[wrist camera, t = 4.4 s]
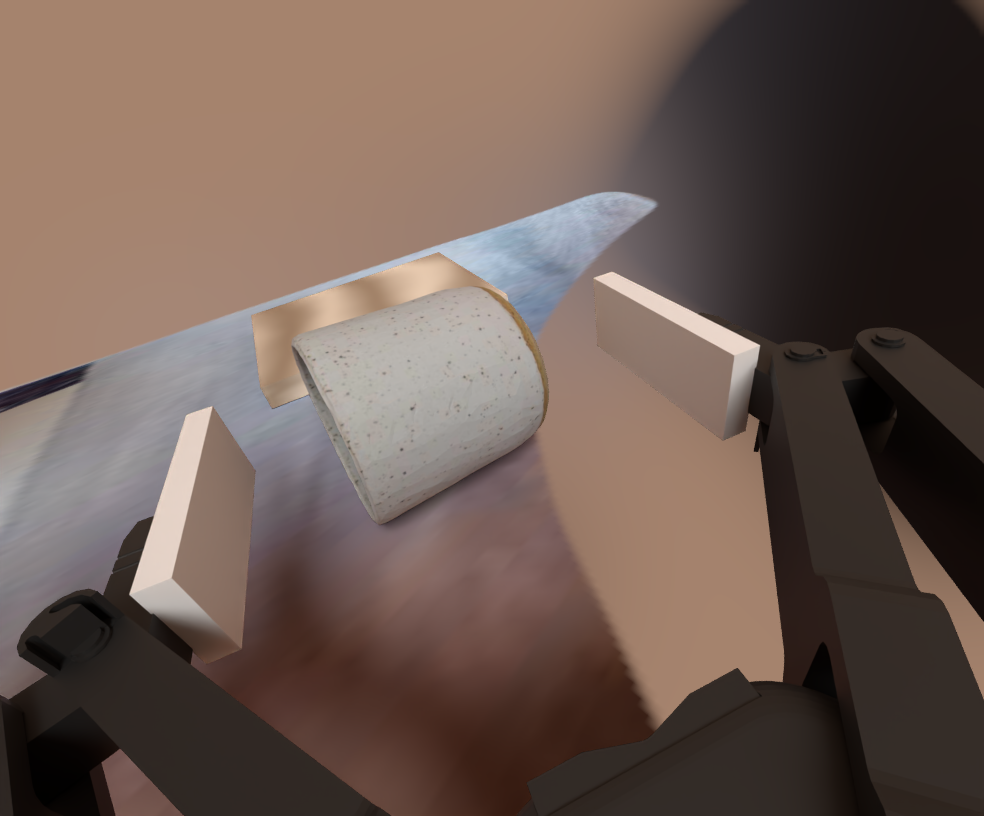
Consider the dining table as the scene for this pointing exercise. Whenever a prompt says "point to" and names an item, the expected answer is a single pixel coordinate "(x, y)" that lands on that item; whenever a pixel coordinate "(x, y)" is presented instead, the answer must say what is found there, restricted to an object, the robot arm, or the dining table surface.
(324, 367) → the ceramic mug
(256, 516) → the dining table surface
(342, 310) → the birch board
